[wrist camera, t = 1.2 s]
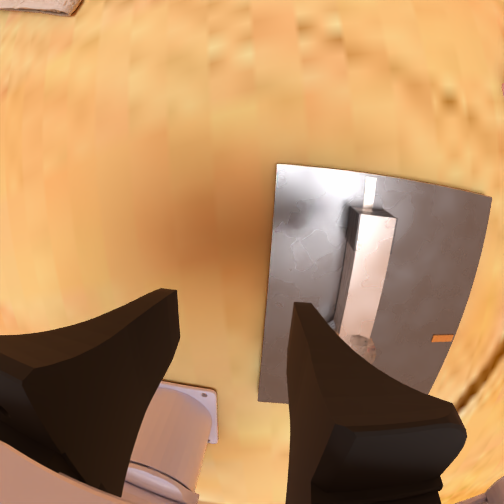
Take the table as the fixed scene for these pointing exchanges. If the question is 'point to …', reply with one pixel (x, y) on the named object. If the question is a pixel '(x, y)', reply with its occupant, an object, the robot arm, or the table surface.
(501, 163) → the table surface
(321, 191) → the plate
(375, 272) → the lever
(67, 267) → the table surface
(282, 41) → the table surface
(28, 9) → the washcloth
